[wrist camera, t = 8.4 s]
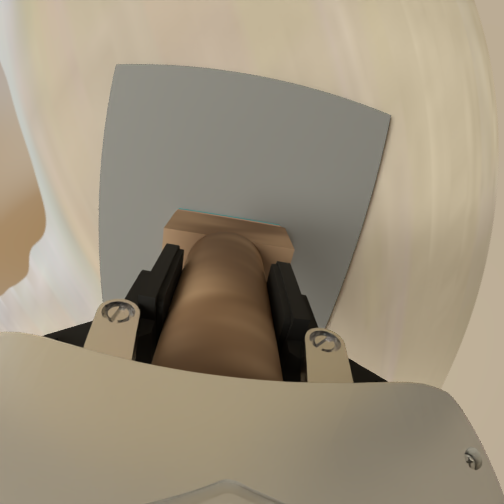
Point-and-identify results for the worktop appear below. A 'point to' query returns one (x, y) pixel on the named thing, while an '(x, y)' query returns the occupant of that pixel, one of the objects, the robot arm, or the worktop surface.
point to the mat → (235, 168)
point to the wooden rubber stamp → (222, 297)
